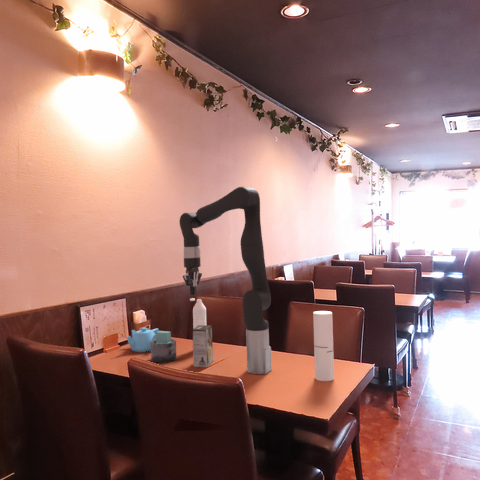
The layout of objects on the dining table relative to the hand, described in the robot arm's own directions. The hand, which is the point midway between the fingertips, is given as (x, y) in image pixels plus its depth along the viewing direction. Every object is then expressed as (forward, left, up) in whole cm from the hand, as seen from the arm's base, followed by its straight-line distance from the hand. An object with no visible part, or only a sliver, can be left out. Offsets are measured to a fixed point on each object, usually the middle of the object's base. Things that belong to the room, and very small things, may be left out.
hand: (193, 294), depth 192 cm
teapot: (+33, -5, -29) cm, 44 cm away
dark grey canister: (+13, +6, -29) cm, 32 cm away
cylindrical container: (-61, +5, -29) cm, 68 cm away
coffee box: (-8, +6, -29) cm, 31 cm away
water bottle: (+6, -13, -29) cm, 33 cm away
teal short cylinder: (+13, +6, -22) cm, 27 cm away
